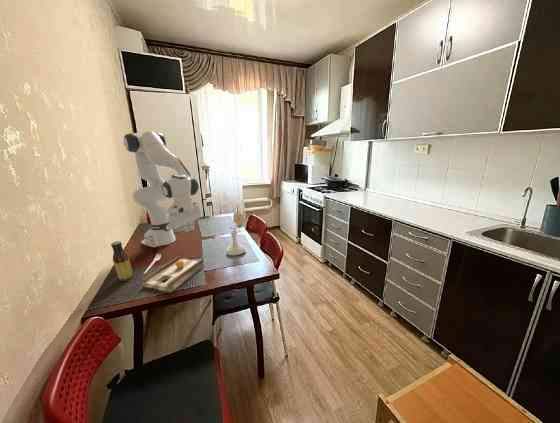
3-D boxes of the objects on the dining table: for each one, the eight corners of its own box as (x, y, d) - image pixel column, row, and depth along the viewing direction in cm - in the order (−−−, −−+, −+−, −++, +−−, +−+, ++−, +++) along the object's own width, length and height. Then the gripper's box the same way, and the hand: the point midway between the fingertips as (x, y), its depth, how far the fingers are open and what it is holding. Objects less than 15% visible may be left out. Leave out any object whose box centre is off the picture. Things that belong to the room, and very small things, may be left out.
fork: (141, 275, 120) (140, 272, 120) (156, 256, 139) (156, 253, 139) (147, 274, 120) (147, 271, 120) (162, 256, 139) (161, 253, 139)
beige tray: (143, 286, 109) (141, 279, 108) (180, 262, 130) (178, 255, 129) (170, 292, 104) (168, 284, 103) (203, 265, 125) (202, 259, 124)
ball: (174, 268, 119) (173, 261, 118) (180, 264, 122) (178, 258, 121) (180, 269, 118) (179, 262, 116) (186, 265, 121) (185, 259, 120)
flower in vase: (229, 259, 132) (224, 217, 124) (224, 251, 141) (219, 212, 134) (250, 253, 137) (247, 213, 130) (244, 246, 147) (240, 208, 140)
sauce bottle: (123, 275, 119) (113, 240, 114) (135, 274, 120) (127, 239, 114) (115, 282, 113) (105, 245, 107) (129, 281, 114) (119, 244, 108)
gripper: (192, 200, 130) (195, 223, 134) (164, 211, 112) (169, 237, 116) (201, 201, 128) (205, 224, 132) (174, 211, 110) (179, 238, 114)
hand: (188, 230), depth 124 cm, fingers closed
